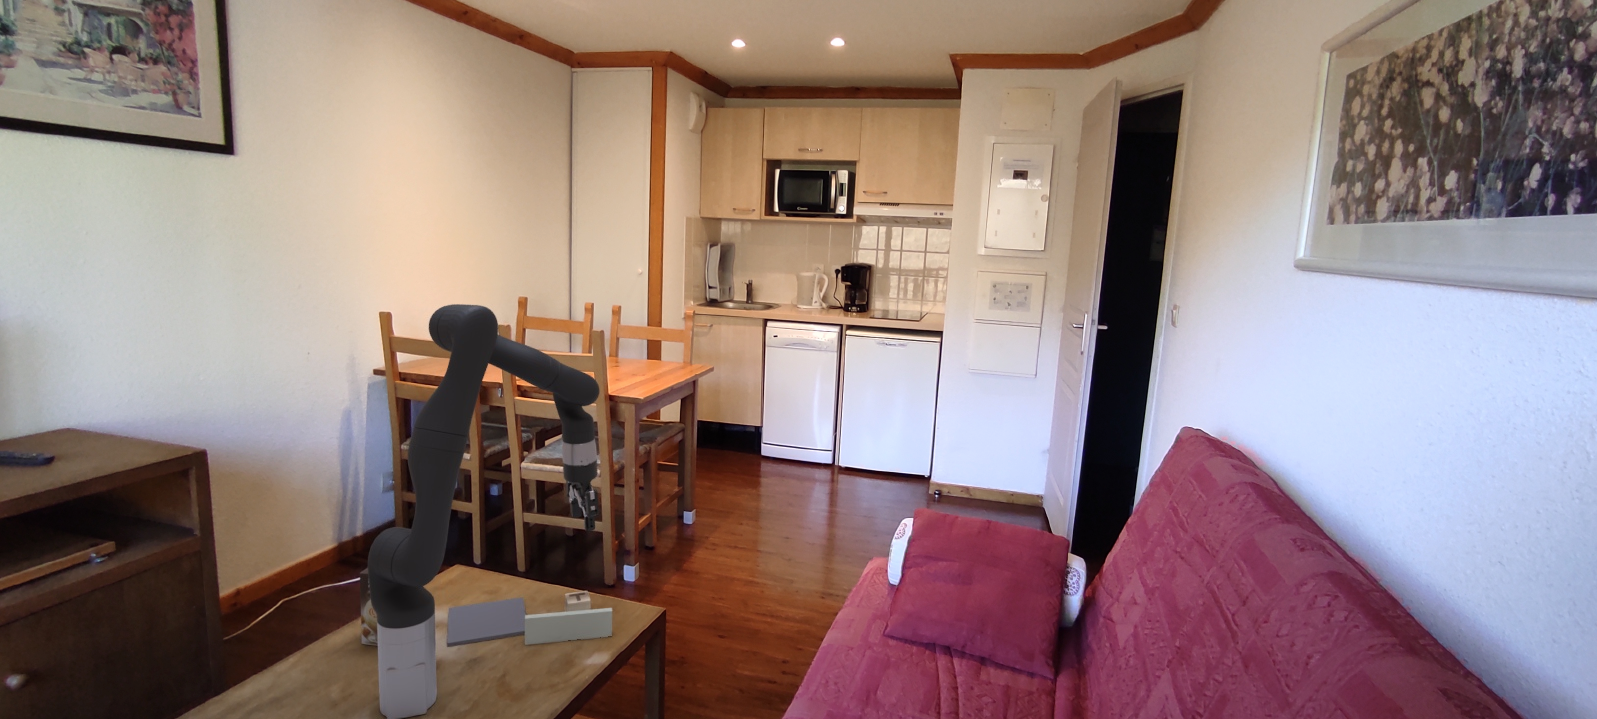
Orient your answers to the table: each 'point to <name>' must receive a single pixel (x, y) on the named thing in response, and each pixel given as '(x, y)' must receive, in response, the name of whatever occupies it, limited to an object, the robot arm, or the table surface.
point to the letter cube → (577, 601)
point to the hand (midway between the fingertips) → (583, 523)
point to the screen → (568, 626)
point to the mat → (486, 621)
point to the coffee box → (367, 612)
